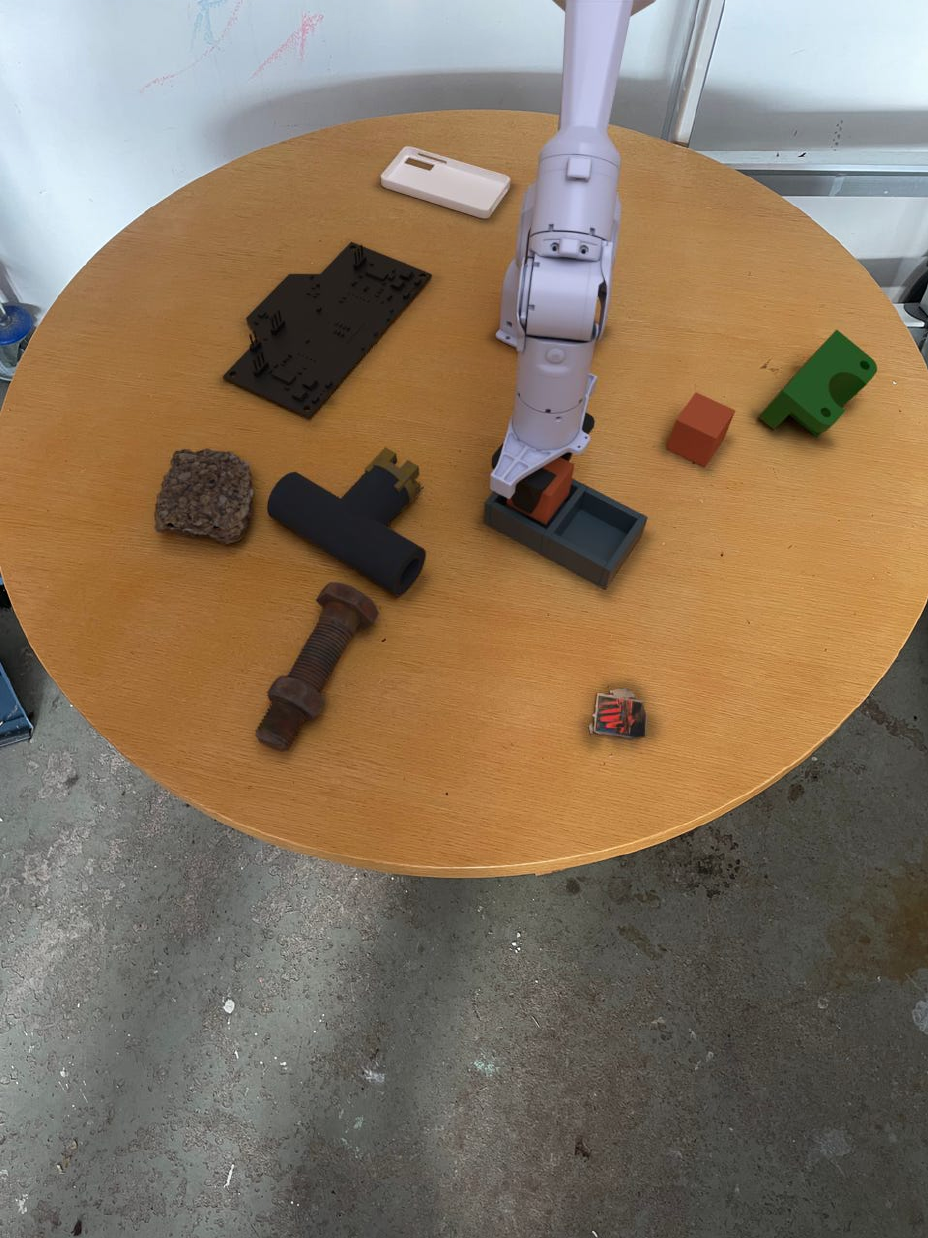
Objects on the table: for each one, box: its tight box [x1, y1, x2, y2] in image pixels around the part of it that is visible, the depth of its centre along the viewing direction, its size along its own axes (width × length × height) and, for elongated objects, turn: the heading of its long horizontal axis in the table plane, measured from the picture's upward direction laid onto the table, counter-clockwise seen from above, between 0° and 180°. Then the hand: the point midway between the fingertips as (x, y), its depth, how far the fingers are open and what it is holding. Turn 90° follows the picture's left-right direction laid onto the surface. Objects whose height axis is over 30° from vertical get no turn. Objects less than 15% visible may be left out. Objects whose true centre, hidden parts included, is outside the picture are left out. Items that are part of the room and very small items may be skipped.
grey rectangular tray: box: [483, 477, 649, 591], centre depth 83 cm, size 14×7×3 cm, turn 56°
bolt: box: [254, 581, 380, 752], centre depth 75 cm, size 6×5×15 cm
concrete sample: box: [153, 448, 255, 547], centre depth 83 cm, size 12×10×5 cm
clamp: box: [757, 328, 878, 438], centre depth 90 cm, size 12×6×9 cm, turn 134°
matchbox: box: [588, 687, 648, 739], centre depth 75 cm, size 5×5×1 cm
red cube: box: [666, 391, 736, 468], centre depth 88 cm, size 4×4×4 cm
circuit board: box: [222, 241, 433, 420], centre depth 97 cm, size 25×14×3 cm, turn 150°
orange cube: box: [507, 457, 575, 525], centre depth 81 cm, size 4×4×4 cm
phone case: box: [380, 145, 511, 220], centre depth 109 cm, size 7×1×15 cm
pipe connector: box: [266, 446, 427, 597], centre depth 83 cm, size 12×5×15 cm
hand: (537, 489), depth 82 cm, fingers closed on orange cube, 4 cm apart
